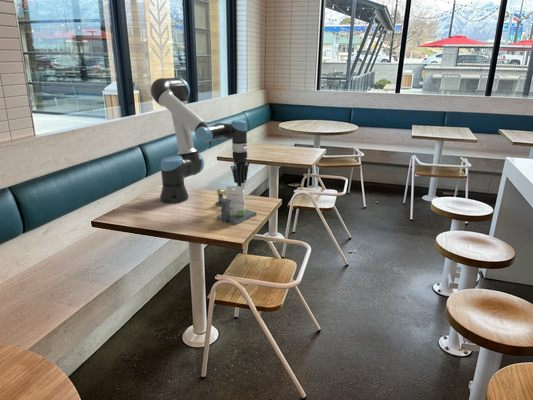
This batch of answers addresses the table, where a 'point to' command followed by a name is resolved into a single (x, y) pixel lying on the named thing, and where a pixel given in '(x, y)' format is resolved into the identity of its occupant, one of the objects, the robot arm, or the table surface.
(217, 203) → the lever post
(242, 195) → the ink box
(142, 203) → the table surface
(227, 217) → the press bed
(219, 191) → the lever
